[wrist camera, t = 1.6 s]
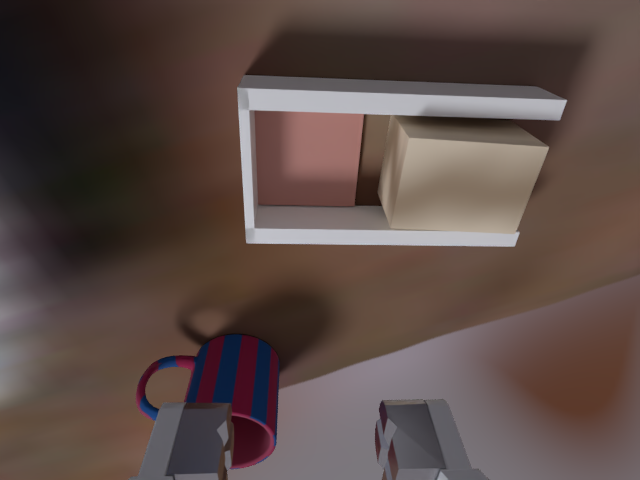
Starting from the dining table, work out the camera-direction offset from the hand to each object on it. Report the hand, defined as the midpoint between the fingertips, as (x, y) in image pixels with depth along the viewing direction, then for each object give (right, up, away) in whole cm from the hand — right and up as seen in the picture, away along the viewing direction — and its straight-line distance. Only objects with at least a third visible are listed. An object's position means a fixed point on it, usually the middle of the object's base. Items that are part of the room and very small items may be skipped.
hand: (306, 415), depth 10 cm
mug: (-8, -5, +23) cm, 25 cm away
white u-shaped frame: (+4, +9, +15) cm, 18 cm away
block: (+8, +9, +15) cm, 19 cm away
